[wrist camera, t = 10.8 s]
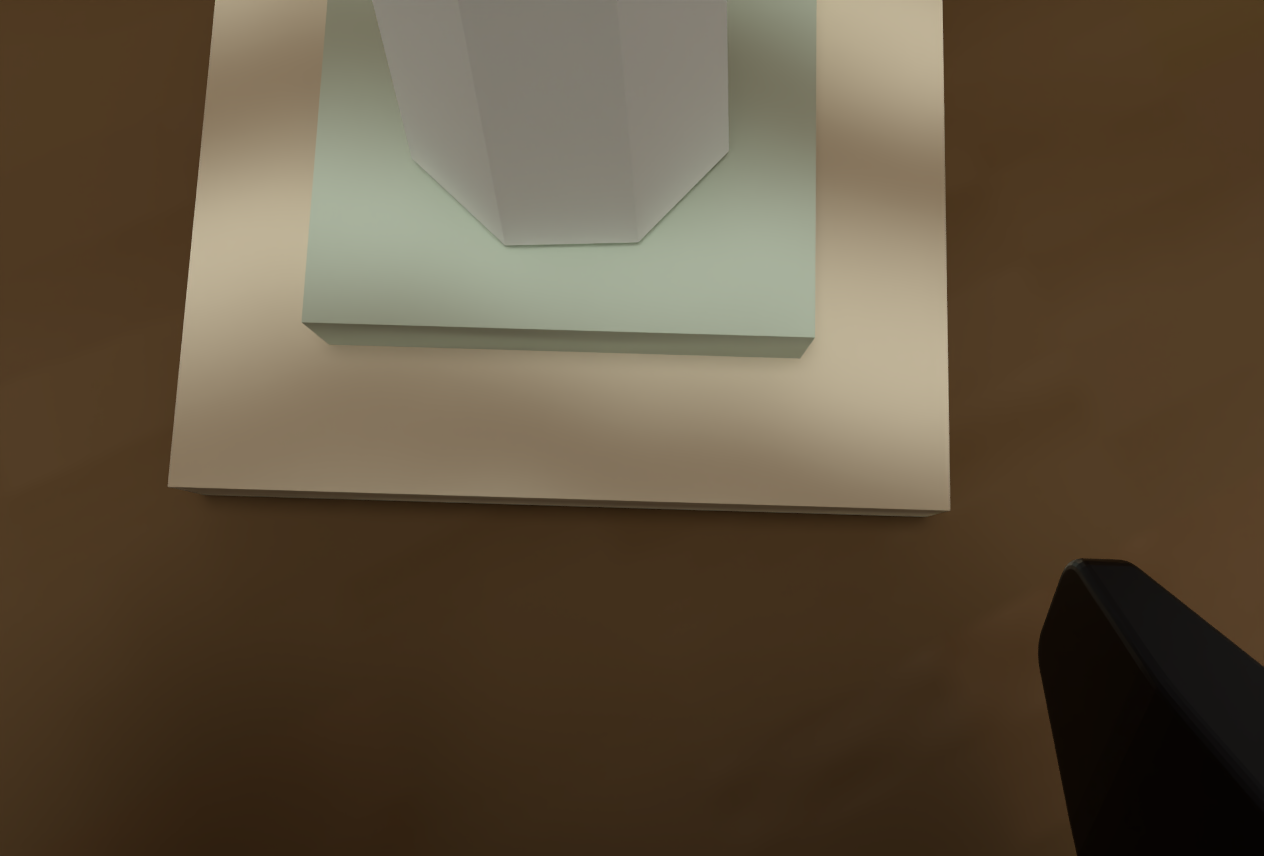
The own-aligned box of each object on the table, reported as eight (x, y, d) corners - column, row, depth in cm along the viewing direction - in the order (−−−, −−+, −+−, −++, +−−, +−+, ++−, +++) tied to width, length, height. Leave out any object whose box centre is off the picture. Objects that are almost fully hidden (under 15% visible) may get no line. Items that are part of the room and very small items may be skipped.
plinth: (925, 516, 19) (979, 503, 16) (203, 495, 19) (124, 477, 16) (917, -140, 21) (964, -259, 18) (263, -156, 21) (203, -279, 18)
